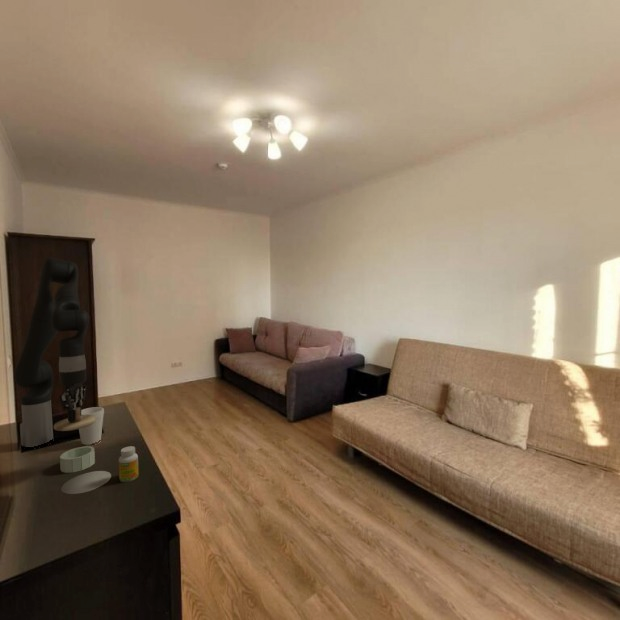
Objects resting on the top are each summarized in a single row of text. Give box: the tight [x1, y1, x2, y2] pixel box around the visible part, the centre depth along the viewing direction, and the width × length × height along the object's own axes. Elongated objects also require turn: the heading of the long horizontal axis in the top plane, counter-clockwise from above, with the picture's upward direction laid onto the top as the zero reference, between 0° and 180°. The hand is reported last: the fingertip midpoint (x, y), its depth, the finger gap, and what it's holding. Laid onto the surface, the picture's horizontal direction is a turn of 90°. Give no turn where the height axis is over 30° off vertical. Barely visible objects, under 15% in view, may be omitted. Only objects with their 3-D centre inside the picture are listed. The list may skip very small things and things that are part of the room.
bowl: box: [59, 446, 96, 474], centre depth 116 cm, size 10×10×5 cm
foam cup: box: [78, 406, 105, 445], centre depth 136 cm, size 10×9×13 cm
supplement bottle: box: [118, 445, 140, 483], centre depth 107 cm, size 5×5×10 cm
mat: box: [60, 470, 112, 495], centre depth 105 cm, size 13×13×1 cm
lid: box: [53, 407, 95, 432], centre depth 115 cm, size 12×12×6 cm
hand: (74, 418), depth 115 cm, fingers closed on lid, 3 cm apart
